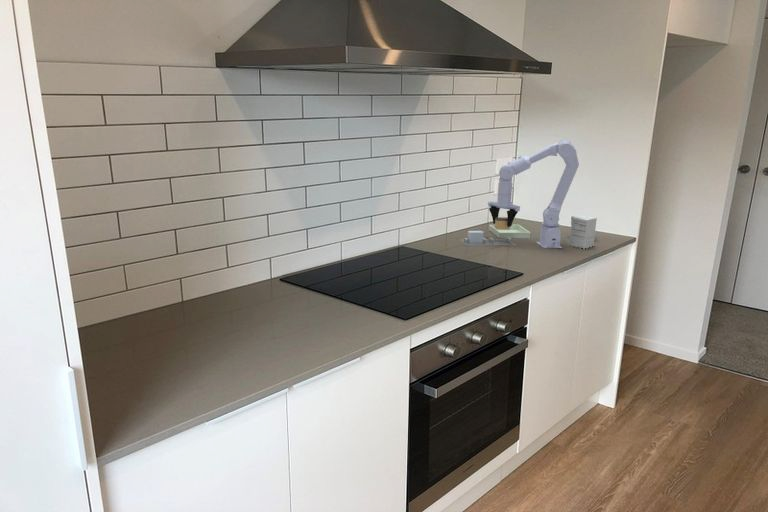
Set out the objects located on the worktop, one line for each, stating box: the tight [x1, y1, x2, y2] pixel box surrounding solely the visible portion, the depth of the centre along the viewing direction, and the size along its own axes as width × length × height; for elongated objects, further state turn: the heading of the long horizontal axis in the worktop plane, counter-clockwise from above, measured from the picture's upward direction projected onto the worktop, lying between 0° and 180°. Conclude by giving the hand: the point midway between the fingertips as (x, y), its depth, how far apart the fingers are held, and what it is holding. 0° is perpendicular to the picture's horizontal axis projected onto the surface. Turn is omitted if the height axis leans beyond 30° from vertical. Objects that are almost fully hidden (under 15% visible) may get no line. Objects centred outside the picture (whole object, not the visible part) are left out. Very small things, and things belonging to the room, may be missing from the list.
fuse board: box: [459, 237, 517, 246], centre depth 263 cm, size 11×22×2 cm, turn 97°
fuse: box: [467, 230, 485, 243], centre depth 262 cm, size 3×6×4 cm, turn 97°
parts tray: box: [488, 224, 532, 239], centre depth 278 cm, size 16×14×3 cm
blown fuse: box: [494, 216, 510, 229], centre depth 263 cm, size 3×6×4 cm, turn 92°
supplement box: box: [569, 214, 598, 250], centre depth 260 cm, size 7×7×13 cm
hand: (502, 225), depth 263 cm, fingers closed on blown fuse, 6 cm apart
